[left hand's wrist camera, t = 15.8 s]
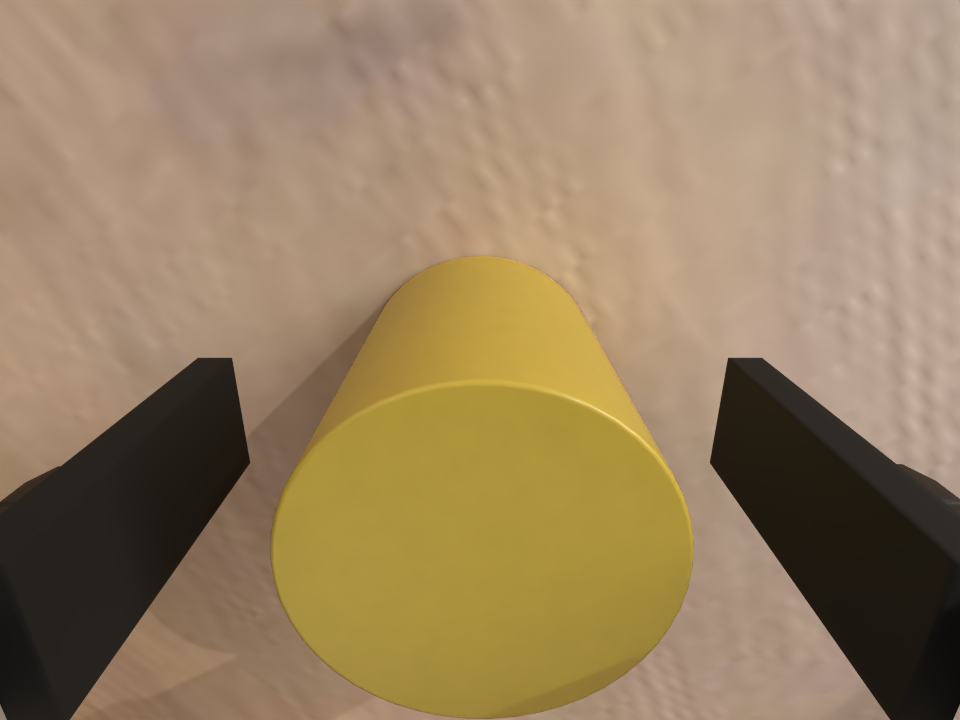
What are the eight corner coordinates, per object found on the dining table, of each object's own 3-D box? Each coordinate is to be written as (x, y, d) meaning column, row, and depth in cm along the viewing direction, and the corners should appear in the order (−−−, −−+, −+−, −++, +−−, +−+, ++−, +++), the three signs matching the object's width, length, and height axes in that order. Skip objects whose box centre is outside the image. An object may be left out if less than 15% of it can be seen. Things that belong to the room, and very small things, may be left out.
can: (468, 498, 17) (461, 771, 10) (322, 354, 16) (178, 554, 8) (636, 378, 16) (775, 594, 8) (496, 204, 14) (513, 282, 7)
